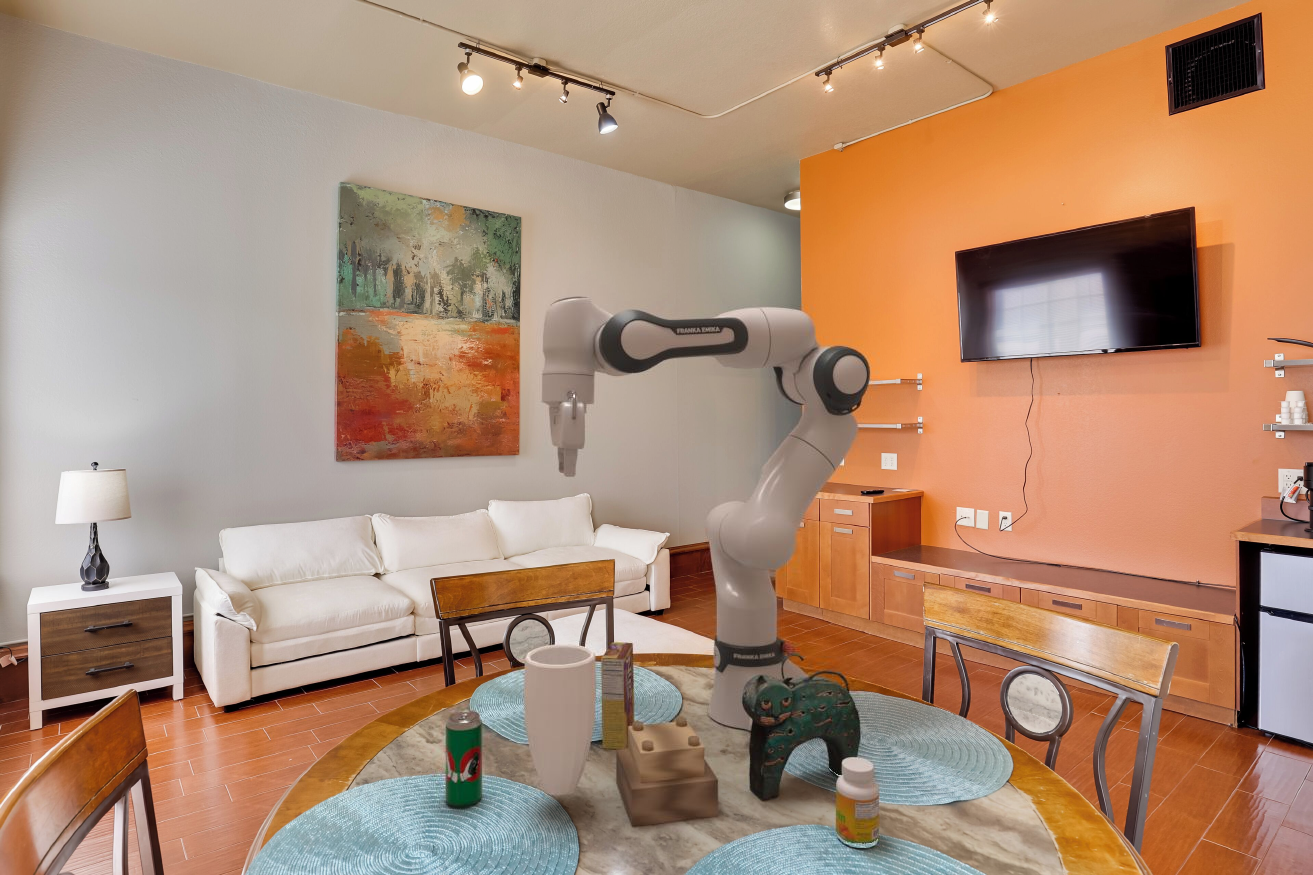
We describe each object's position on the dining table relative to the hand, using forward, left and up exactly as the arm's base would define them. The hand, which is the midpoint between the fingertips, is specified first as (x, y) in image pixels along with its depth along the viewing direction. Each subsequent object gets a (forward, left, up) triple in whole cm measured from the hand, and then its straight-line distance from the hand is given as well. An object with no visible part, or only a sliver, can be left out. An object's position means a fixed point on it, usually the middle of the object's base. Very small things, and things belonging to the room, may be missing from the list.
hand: (566, 474), depth 121 cm
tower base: (-12, +23, -45) cm, 52 cm away
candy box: (-9, +2, -45) cm, 46 cm away
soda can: (+16, +17, -45) cm, 51 cm away
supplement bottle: (-34, +38, -45) cm, 68 cm away
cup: (+3, +22, -45) cm, 51 cm away
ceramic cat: (-33, +23, -45) cm, 60 cm away
